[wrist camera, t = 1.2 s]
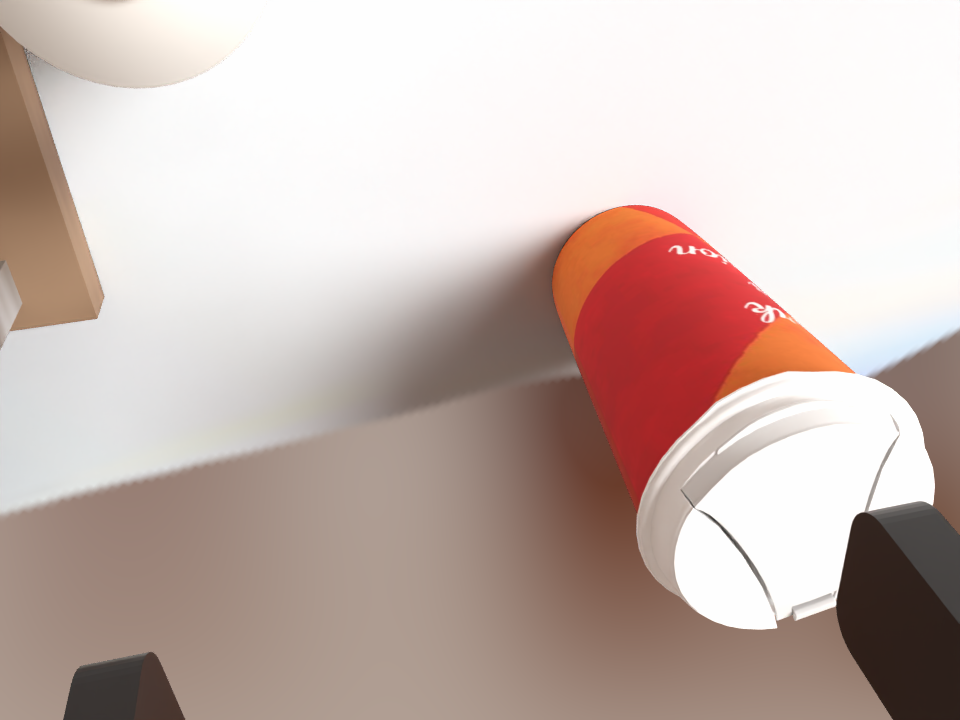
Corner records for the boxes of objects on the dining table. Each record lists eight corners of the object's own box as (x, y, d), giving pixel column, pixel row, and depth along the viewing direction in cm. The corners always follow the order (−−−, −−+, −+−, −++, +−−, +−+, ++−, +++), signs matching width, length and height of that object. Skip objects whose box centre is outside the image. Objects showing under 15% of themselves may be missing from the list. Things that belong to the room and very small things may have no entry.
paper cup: (735, 321, 36) (955, 581, 24) (551, 389, 36) (683, 680, 24) (705, 140, 32) (955, 351, 20) (495, 217, 32) (624, 472, 20)
